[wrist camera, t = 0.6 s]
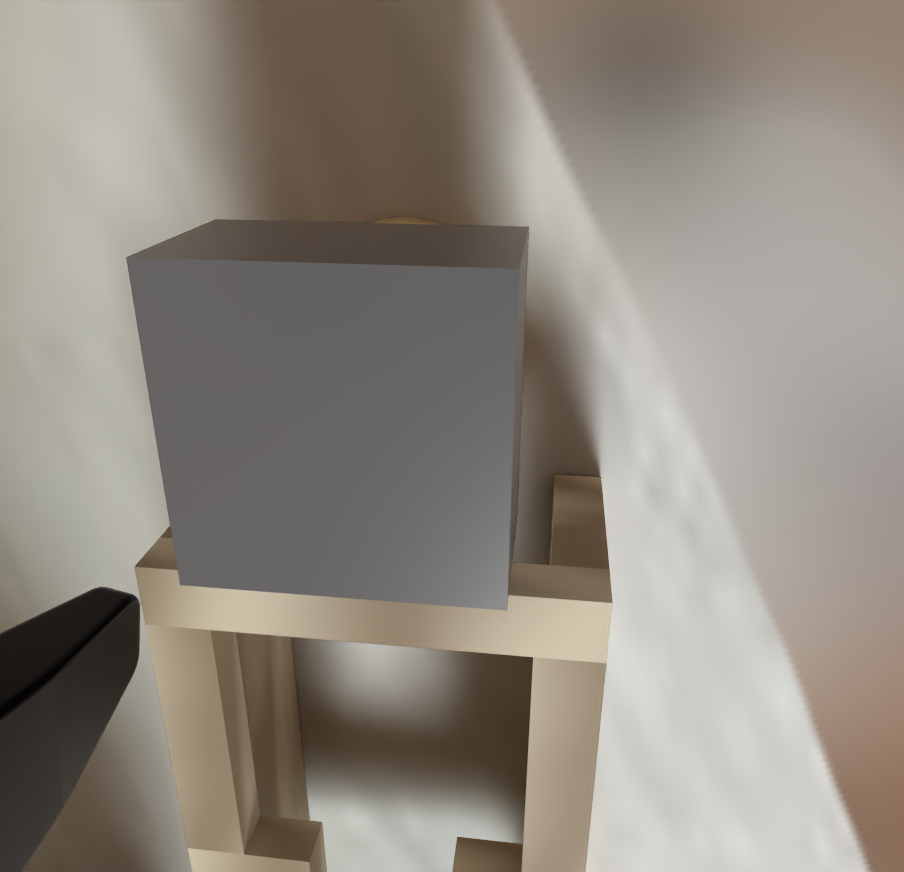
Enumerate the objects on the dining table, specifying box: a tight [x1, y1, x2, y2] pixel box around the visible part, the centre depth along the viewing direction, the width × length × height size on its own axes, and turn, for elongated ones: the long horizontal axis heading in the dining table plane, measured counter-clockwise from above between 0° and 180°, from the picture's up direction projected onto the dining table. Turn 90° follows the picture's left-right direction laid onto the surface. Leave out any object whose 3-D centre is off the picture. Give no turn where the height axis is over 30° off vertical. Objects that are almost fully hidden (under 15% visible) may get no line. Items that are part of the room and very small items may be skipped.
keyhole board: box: [135, 474, 612, 872], centre depth 22 cm, size 10×16×6 cm, turn 0°
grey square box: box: [126, 217, 529, 611], centre depth 17 cm, size 6×6×7 cm
